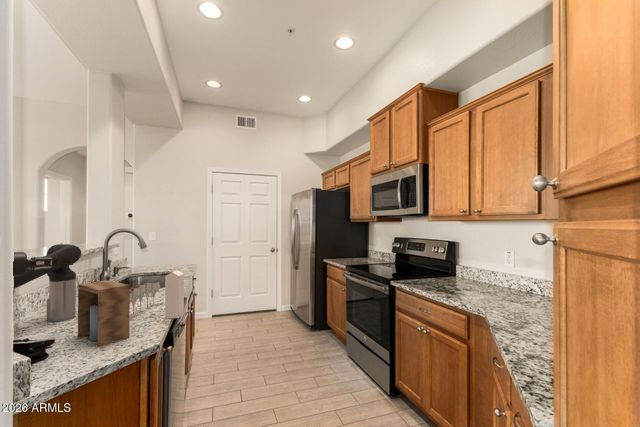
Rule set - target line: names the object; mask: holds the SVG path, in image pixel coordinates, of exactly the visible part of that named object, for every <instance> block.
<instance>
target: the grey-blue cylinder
mask: <svg viewBox="0 0 640 427" xmlns="http://www.w3.org/2000/svg"><path fill="white" fill-rule="evenodd" d="M89 341H90V342H95V341H96V342H98V304H96V305H92V306H90V334H89Z"/></svg>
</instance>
